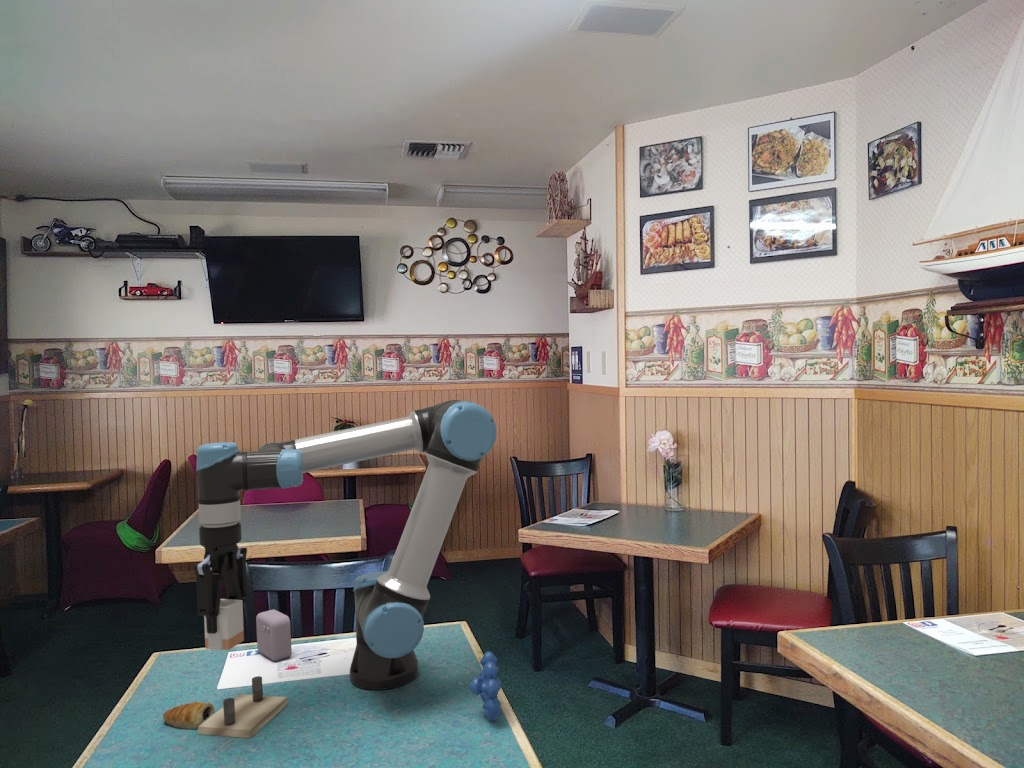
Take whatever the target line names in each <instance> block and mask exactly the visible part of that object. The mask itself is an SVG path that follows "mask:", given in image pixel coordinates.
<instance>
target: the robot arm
mask: <svg viewBox="0 0 1024 768" xmlns="http://www.w3.org/2000/svg"><path fill="white" fill-rule="evenodd" d="M497 434H498V431H497V425H496V422H495V420H494V418H493V416H492V414H491V412H490V411H488V410H487V409H486V408H485V407H483V406H482V405H479V403H478V404H477V403H476V402H472V401H470V400H465V401H463V400H459V399H458V400H457V399H453V400H452V399H451V400H447V401H443V402H441V403H437V404H435V405H431V406H428V407H424V408H421V409H416V410H411V411H410V413H409V414H408V416H404V417H399V418H394V419H390V420H389V419H388V420H384V421H379V422H374V423H370V424H369V423H368V424H364V425H360V426H354V427H350V428H346V429H340V430H336V431H335V430H334V431H330V432H326V433H321V434H315V435H311V436H306V437H301V438H300V437H299V438H295V439H292V440H286V441H282V442H268V443H266V444H263V445H262V446H260V447H259V448H258V450H257V451H244V452H243V451H240V450H239V448H238V447H239V446H238V444H237V443H236V442H231V441H229V442H228V441H227V442H225V441H224V442H223V441H222V442H211V443H210V442H209V443H204V444H201V445H200V446H199V447H198V448H197V450H196V468H195V470H196V485H197V501H198V502H197V503H198V523H199V524H200V527H198V533H199V535H198V536H199V544H200V546H201V547H203V548H204V554H203V560H202V561H201V562H200V563H195V564H194V565H193V571H194V573H195V577H196V578H195V579H196V580H195V581H196V584H195V585H196V604H197V605H196V609H197V610H196V611H197V612H196V613H197V616H198V617H199V616H203V617H204V616H206V624H207V633H208V650H218V651H220V650H221V649H223V628H222V614H219V607H220V599H222V598H221V596H222V587H223V584H224V589H225V593H226V599H235V600H242V603H243V604H246V600H247V599H246V598H247V597H248V578H247V553H248V549H247V547H239V546H238V543H240V542H241V541H242V538H243V537H242V523H240V520H241V519H242V513H241V512H242V510H241V497H240V496H241V495H240V494H241V492H242V491H245V492H246V491H255V490H257V491H258V490H269V489H270V490H271V489H272V490H273V489H275V490H276V489H284V490H286V489H288V488H296V487H299V486H301V485H302V484H303V482H304V474H306V473H311V472H314V471H320V470H324V469H325V470H326V469H330V468H334V467H339V466H343V465H348V464H354V463H357V462H362V461H367V460H371V459H376V458H382V457H385V456H386V457H387V456H390V455H391V456H392V455H394V454H395V455H396V454H400V453H403V452H404V453H405V452H410V451H413V450H415V451H417V452H418V453H420V454H421V453H425V457H426V458H427V462H428V465H427V468H426V471H425V473H424V476H423V478H422V481H421V484H420V486H419V490H418V492H417V494H416V498H415V499H414V502H413V505H412V507H411V510H410V513H409V516H408V519H407V520H406V523H405V526H404V529H403V532H402V534H401V537H400V539H399V542H398V545H397V547H396V550H395V553H394V555H393V558H392V560H391V563H390V565H389V568H388V570H383V571H375V572H369V573H365V574H361V575H358V576H357V577H356V578H355V579H354V583H353V585H354V587H353V590H352V591H353V593H354V610H355V611H354V612H355V614H354V615H355V635H356V636H355V637H356V644H355V649H354V653H353V656H352V661H351V664H350V667H349V680H350V683H351V684H352V685H354V686H355V687H357V688H360V689H365V690H387V689H392V688H397V687H401V686H403V685H405V684H408V683H411V681H413V680H415V679H416V678H417V676H418V675H419V661H418V658H417V655H416V652H415V649H417V647H418V646H419V644H420V643H421V640H422V638H423V634H424V630H425V629H424V628H425V627H424V626H425V621H424V615H425V612H426V610H427V607H428V604H429V601H430V599H431V594H430V591H429V590H428V584H429V581H430V578H431V576H432V573H433V570H434V567H435V565H436V561H437V560H438V556H439V555H440V552H441V548H442V546H443V544H444V540H445V538H446V535H447V533H448V530H449V528H450V525H451V522H452V520H453V516H454V514H455V512H456V509H457V506H458V504H459V501H460V498H461V495H462V493H463V489H464V488H465V485H466V482H467V480H468V478H469V477H471V476H473V475H476V474H477V473H478V470H479V468H480V465H481V462H482V460H483V458H484V457H485V456H487V455H488V454H489V452H490V451H491V450H492V448H493V447H494V446H495V442H496V439H497ZM221 651H222V650H221Z"/></svg>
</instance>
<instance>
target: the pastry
mask: <svg viewBox="0 0 1024 768" xmlns="http://www.w3.org/2000/svg"><path fill="white" fill-rule="evenodd" d="M215 711H216V710H215V706H214V705H213V703H211V702H210V701H207V702H202V701H201V702H200V701H192V702H190V703H187V702H186V703H184V704H181V705H178V706H175V707H172V708H170V709H168V710H167V711H165V712H164V713H163V714H162V717H163V720H164V722H165V724H166V725H170V726H172V727H175V728H178V729H190V730H194V729H195V730H196V729H197V730H198V726H199V725H201V724H202V723H203V722H204V721H206V720H207V719H208V718H210V717H211V716H212V715H213V714H215V713H216V712H215Z"/></svg>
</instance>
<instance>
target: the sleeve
mask: <svg viewBox="0 0 1024 768" xmlns="http://www.w3.org/2000/svg"><path fill="white" fill-rule="evenodd" d="M243 607H244V606H243V603H242V600H235V599H227V598H220V607H219V614H222V628H223V649H221V651H224V650H225V651H229V650H231V649H232V648H234V647H235V646H238V645H239V644H240V643H242V642H244V640H245V633H244V631H245V630H244V611H243ZM203 621H204V623H203V624H204V645H205V647H204V648H205V650H206V649H208V633H207V624H206V616H203ZM208 650H209V649H208Z"/></svg>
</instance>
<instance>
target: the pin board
mask: <svg viewBox="0 0 1024 768" xmlns="http://www.w3.org/2000/svg"><path fill="white" fill-rule="evenodd" d="M251 688H252V689H251V690H252V691H251V692H252V693H251V694H246V693H245V694H243V693H239V694H237V695H236V696H235V697H234V698H233V697H227V698H225V699H223V702H222V704H223V705H222V707H221V708H220V709H219V710H217V711H216V712H215V713H214V714H213V715H212V716H211V717H210V718H208V719H207V720H206V721H204V722H203V723H202V724H201V725H199V726H198V729H197V730H198V735H203V736H204V735H207V736H218V737H219V736H220V737H229V738H230V737H233V738H245V739H247V738H248V739H251V738H253V736H254V735H256V734H257V733H258V732H259V730H261V729H262V728H263V727H265V725H266V724H267V723H269V721H271V720H272V719H273V718H274V717H276V716H277V715H278V714H279V712H281V711H282V710H283V709H284V708H285V707H286V706H287V705H288V697H287V696H277V695H276V696H275V695H264V693H263V692H264V691H263V688H264V687H263V677H262V676H261V675H259V676H254V677H252V678H251Z"/></svg>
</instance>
